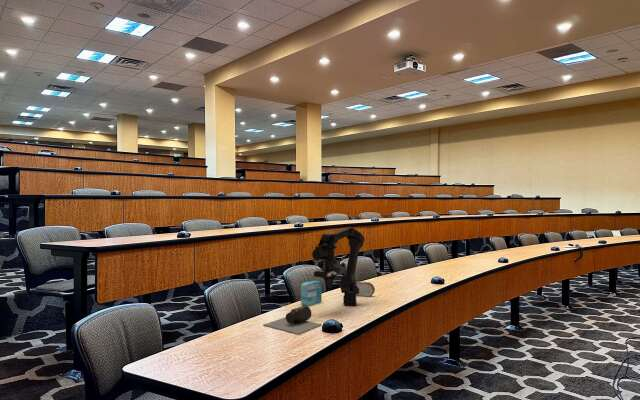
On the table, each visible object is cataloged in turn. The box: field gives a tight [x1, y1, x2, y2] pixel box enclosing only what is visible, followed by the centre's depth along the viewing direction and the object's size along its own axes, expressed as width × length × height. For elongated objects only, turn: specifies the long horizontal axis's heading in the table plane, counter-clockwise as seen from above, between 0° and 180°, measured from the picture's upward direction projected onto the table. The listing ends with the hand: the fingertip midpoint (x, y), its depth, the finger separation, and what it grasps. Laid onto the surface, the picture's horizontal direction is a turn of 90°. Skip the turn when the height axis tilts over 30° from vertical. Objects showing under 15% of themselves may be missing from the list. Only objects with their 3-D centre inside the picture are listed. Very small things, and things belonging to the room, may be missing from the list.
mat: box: [263, 316, 323, 336], centre depth 192 cm, size 16×22×1 cm
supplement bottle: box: [285, 305, 312, 324], centre depth 195 cm, size 7×7×12 cm
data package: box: [300, 280, 323, 307], centre depth 231 cm, size 12×4×12 cm, turn 137°
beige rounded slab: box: [356, 280, 376, 298], centre depth 247 cm, size 15×3×8 cm, turn 71°
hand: (329, 288), depth 214 cm, fingers closed
